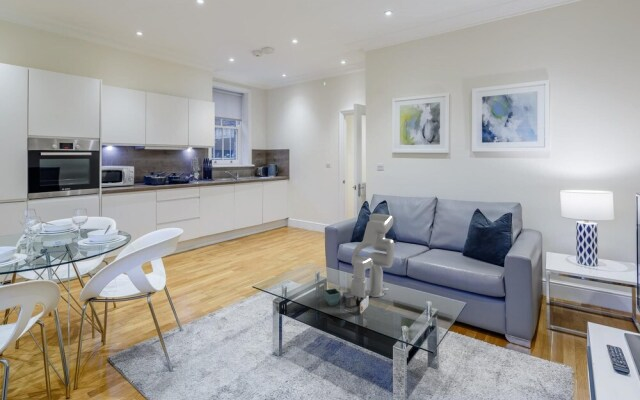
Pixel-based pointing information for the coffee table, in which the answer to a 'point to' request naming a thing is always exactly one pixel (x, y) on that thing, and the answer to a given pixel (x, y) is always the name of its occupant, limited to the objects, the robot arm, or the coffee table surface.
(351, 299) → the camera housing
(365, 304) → the side door
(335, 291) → the flower pot
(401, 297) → the coffee table surface
